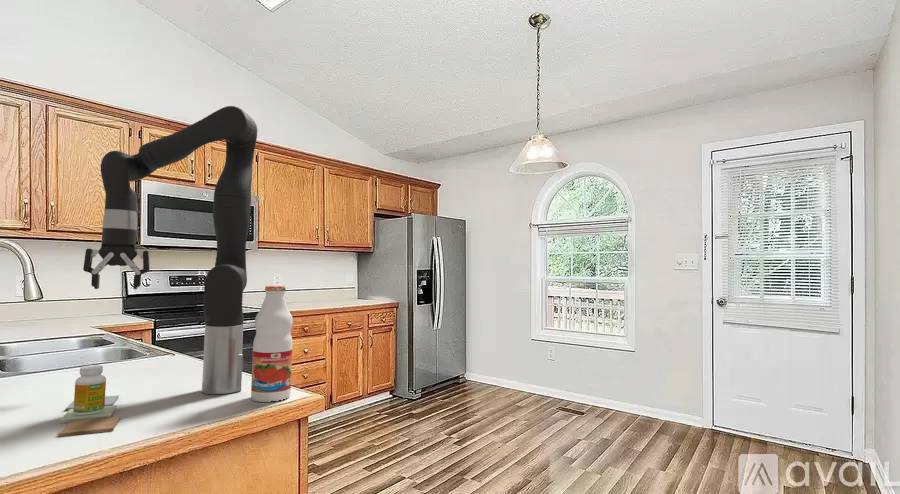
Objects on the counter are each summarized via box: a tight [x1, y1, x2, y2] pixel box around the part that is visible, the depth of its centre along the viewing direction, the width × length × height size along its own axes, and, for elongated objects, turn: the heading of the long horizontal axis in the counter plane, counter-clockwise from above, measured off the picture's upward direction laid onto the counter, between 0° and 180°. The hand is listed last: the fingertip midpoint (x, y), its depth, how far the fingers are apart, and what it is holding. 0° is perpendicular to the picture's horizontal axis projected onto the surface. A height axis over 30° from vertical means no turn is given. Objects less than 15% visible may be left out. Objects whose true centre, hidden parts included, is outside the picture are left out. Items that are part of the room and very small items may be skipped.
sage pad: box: [59, 404, 118, 424], centre depth 104 cm, size 8×8×1 cm
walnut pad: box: [58, 415, 121, 438], centre depth 96 cm, size 8×8×1 cm
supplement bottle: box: [73, 364, 107, 415], centre depth 104 cm, size 5×5×10 cm
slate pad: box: [65, 394, 120, 412], centre depth 112 cm, size 8×8×1 cm
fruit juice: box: [250, 285, 294, 403], centre depth 121 cm, size 9×9×28 cm
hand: (116, 288), depth 127 cm, fingers open, 8 cm apart
